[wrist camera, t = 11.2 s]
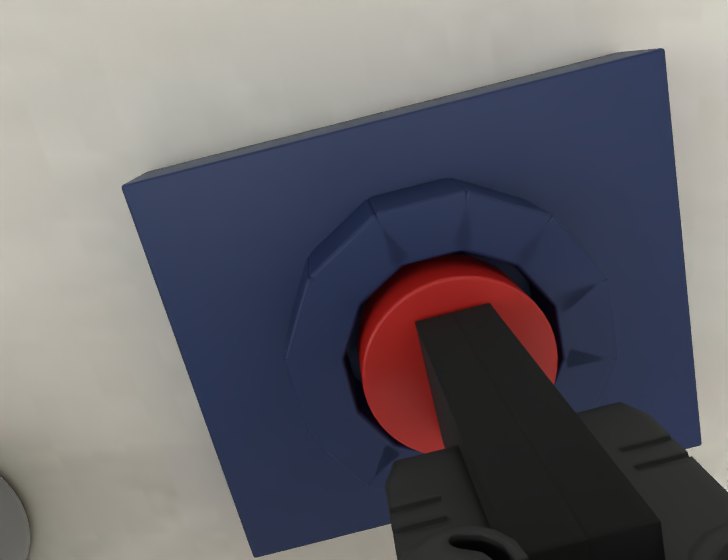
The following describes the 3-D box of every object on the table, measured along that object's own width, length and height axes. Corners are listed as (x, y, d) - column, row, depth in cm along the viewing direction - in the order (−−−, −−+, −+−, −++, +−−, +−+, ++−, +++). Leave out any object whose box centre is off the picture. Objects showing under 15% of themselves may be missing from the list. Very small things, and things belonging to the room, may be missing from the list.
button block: (260, 506, 19) (246, 613, 15) (145, 172, 16) (92, 200, 12) (659, 405, 19) (746, 487, 15) (619, 52, 16) (714, 42, 12)
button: (379, 435, 15) (387, 478, 14) (337, 278, 14) (340, 305, 12) (543, 394, 15) (571, 431, 14) (515, 233, 14) (542, 253, 12)
